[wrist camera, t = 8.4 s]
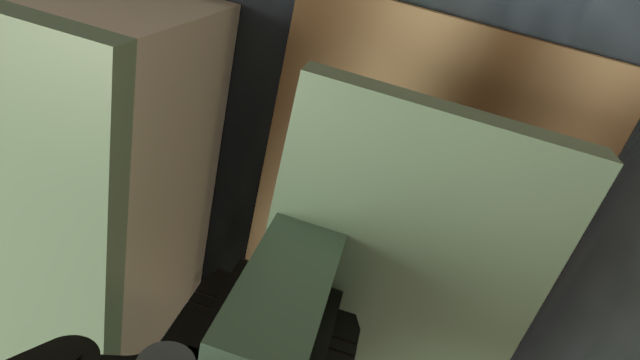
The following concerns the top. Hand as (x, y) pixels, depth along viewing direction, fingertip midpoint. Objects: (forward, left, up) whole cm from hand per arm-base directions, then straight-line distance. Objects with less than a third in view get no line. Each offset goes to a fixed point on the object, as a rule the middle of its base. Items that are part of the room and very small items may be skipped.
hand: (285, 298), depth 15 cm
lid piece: (-3, 0, -2) cm, 3 cm away
